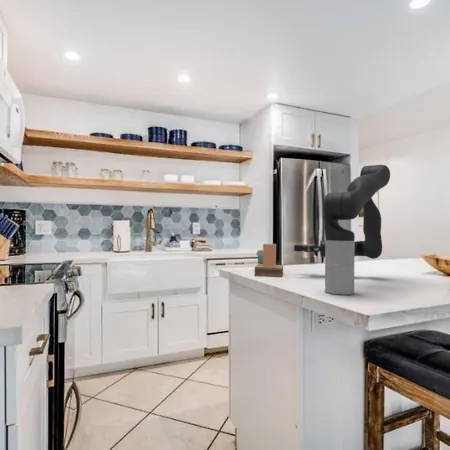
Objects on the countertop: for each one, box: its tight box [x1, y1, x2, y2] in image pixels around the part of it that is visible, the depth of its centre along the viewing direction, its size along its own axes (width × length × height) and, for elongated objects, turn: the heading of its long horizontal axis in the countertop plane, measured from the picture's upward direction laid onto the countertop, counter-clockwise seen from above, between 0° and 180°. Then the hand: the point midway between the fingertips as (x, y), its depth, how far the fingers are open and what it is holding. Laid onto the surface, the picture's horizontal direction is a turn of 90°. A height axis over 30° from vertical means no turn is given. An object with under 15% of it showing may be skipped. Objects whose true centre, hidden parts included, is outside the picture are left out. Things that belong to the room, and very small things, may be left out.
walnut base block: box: [254, 263, 284, 278], centre depth 152 cm, size 12×12×4 cm
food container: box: [256, 249, 263, 265], centre depth 165 cm, size 12×6×10 cm, turn 25°
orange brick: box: [262, 243, 277, 267], centre depth 152 cm, size 6×6×10 cm
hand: (294, 248), depth 150 cm, fingers open, 8 cm apart
